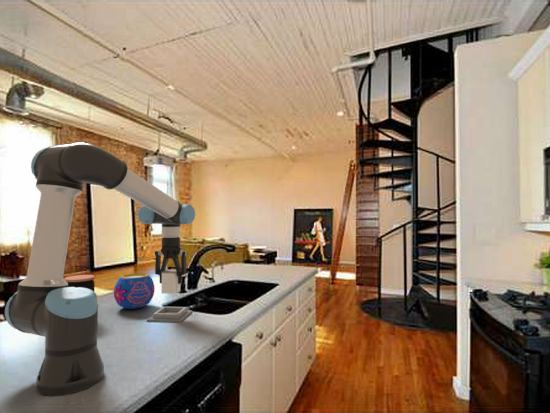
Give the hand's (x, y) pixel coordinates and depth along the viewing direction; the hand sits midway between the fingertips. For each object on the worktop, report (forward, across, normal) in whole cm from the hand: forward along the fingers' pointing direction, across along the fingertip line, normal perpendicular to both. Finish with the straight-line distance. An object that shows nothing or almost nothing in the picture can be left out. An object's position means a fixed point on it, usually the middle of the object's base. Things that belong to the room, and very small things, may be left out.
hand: (170, 291), depth 140 cm
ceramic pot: (+11, +22, -11) cm, 27 cm away
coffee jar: (+11, +34, +10) cm, 37 cm away
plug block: (0, 0, 0) cm, 0 cm away
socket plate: (+11, 0, 0) cm, 11 cm away
